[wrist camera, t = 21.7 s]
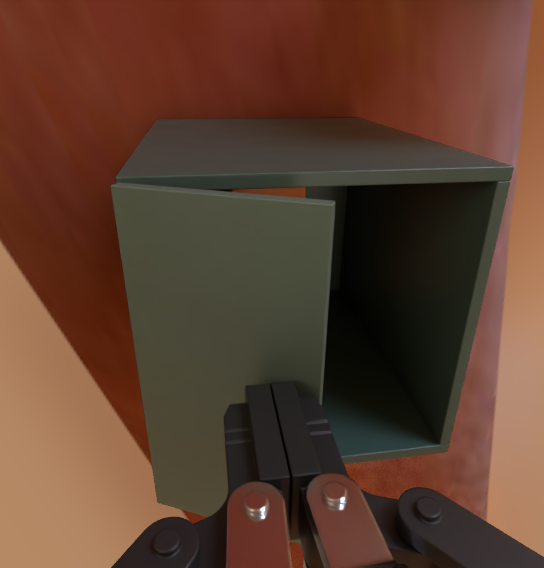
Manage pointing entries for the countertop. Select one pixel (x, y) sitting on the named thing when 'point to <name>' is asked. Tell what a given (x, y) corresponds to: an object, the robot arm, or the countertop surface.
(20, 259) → the countertop surface
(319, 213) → the flap
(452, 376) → the dark green open box
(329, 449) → the robot arm
